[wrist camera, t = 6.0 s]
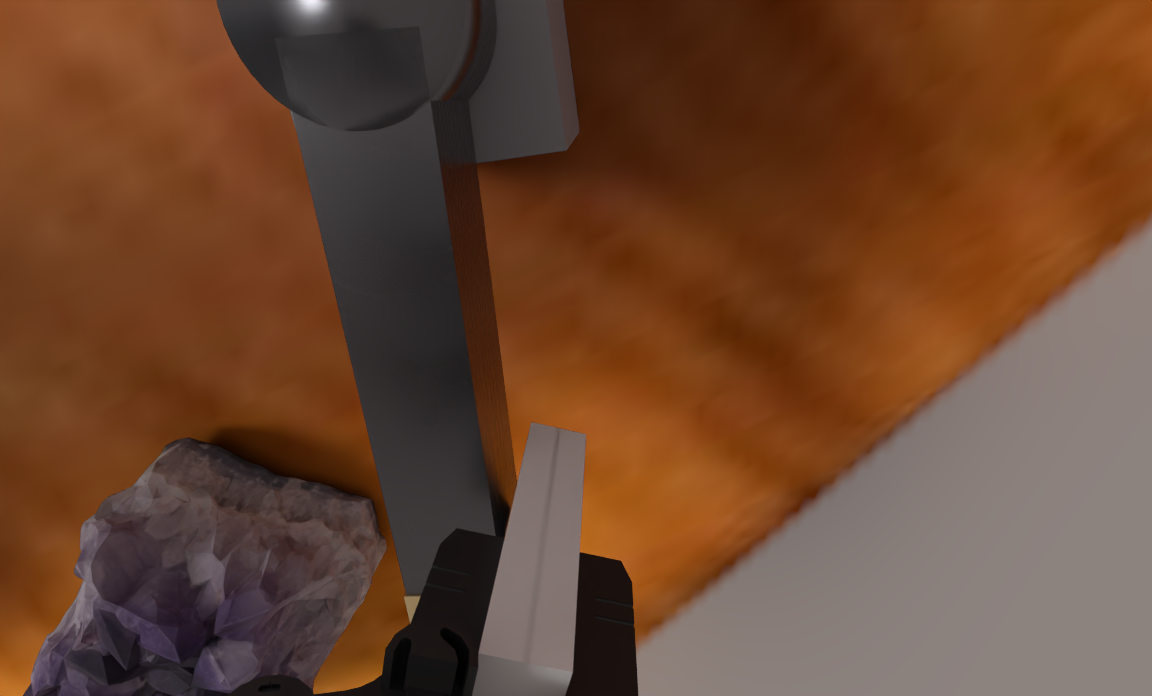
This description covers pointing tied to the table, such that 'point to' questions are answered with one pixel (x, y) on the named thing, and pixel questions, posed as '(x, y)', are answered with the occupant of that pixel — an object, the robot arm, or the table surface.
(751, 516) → the table surface
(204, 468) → the geode
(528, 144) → the white box with knob
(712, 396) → the table surface
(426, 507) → the bar
